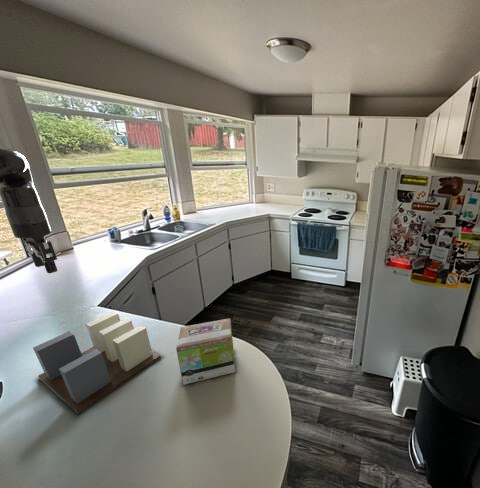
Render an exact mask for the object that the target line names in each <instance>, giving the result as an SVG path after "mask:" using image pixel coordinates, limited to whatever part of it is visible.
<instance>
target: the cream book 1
mask: <svg viewBox="0 0 480 488" xmlns="http://www.w3.org/2000/svg"><path fill="white" fill-rule="evenodd" d="M119 321H121V318H120V315H119V313H118V312H116V311H111V312H109V313H106V314H104V315H102V316H100V317H98V318H96V319H95V318H94V319H93V320H91V321H88V322H87V323H85V327H86V329H87V332H88V335H89V339H90V340H91V342H92V343H91V344H92V347H94V349H97V350H98V351H100V352H103V351H105V350H104V347H103V344H102V341H101V338H100V335H99V331H101V330H103V329H105V328H107V327H109V326H111V325H113V324H115V323H117V322H119Z"/></svg>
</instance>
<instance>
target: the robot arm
mask: <svg viewBox="0 0 480 488" xmlns="http://www.w3.org/2000/svg"><path fill="white" fill-rule="evenodd" d="M30 169H31V168H30V164H29V162H28V160H27V159H26V157H25V156H24V155H23V154H21V152H19V151H16V150H14V149H11V148H7V147H6V148H5V147H3V148H2V147H0V199H1V202H2V204H3V208H4V212H5V216H6V218H7V221H8V224H9V226H10V228H11V231H12V233H13V236H14V237H15V238H16V239H21V240H22V244H23V246H24V248H25V252H26V253H27V254H28V255H29V256H30V257H31V258H32V262H33V264H34V267H36V268H41V267H44V269H45V271H46V273H47V274H52V273H57V272H58V268H57V265H56V261H57V260H58V257H57V254H56V253H55V248H54V247H53V244H52V241H50V240H48V239H46V238H45V236H47V235H50V234H51V233H52V229H51V226H50V223H49V220H48V216H47V214H46V212H45V209H44V207H43V205H42V203H41V200H40V196H39V195H38V192H37V190H36V188H35V185H34V182H33V177H32V173H31V170H30ZM47 256H48V257H47Z"/></svg>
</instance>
